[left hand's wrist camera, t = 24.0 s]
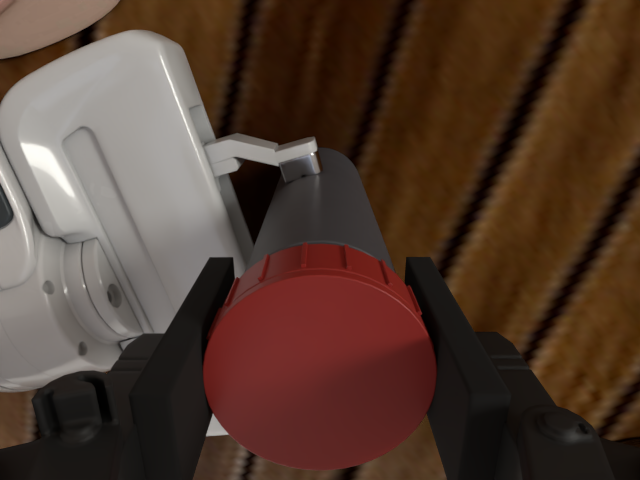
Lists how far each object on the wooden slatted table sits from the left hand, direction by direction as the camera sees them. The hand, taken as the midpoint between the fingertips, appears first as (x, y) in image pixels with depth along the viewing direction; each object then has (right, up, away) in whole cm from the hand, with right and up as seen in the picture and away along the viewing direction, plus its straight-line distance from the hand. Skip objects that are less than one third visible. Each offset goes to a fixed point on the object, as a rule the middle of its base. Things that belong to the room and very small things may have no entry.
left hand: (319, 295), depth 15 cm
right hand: (+1, +3, +7) cm, 8 cm away
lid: (0, -1, -4) cm, 4 cm away
